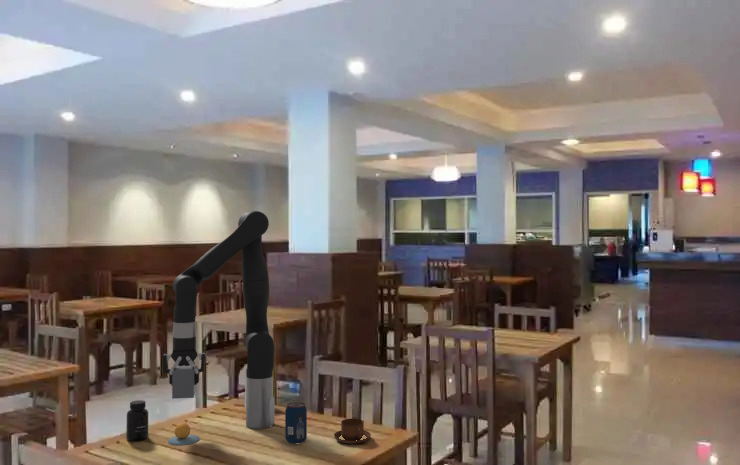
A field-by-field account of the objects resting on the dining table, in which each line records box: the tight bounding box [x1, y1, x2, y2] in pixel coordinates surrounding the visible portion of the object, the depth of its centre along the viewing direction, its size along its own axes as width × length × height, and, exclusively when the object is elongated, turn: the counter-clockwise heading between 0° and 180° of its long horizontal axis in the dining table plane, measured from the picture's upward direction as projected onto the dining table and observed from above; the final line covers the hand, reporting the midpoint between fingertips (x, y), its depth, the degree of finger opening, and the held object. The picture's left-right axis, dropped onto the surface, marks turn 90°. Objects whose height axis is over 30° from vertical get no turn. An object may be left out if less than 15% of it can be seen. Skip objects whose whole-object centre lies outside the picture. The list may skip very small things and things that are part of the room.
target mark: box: [167, 434, 201, 446], centre depth 212 cm, size 10×10×1 cm
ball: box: [174, 422, 191, 439], centre depth 213 cm, size 5×5×5 cm
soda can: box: [284, 401, 308, 445], centre depth 211 cm, size 7×7×12 cm
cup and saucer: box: [333, 418, 372, 444], centre depth 212 cm, size 12×12×6 cm
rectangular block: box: [171, 365, 197, 400], centre depth 217 cm, size 7×9×9 cm
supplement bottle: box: [125, 399, 149, 442], centre depth 213 cm, size 7×7×12 cm
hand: (184, 384), depth 217 cm, fingers closed on rectangular block, 7 cm apart
